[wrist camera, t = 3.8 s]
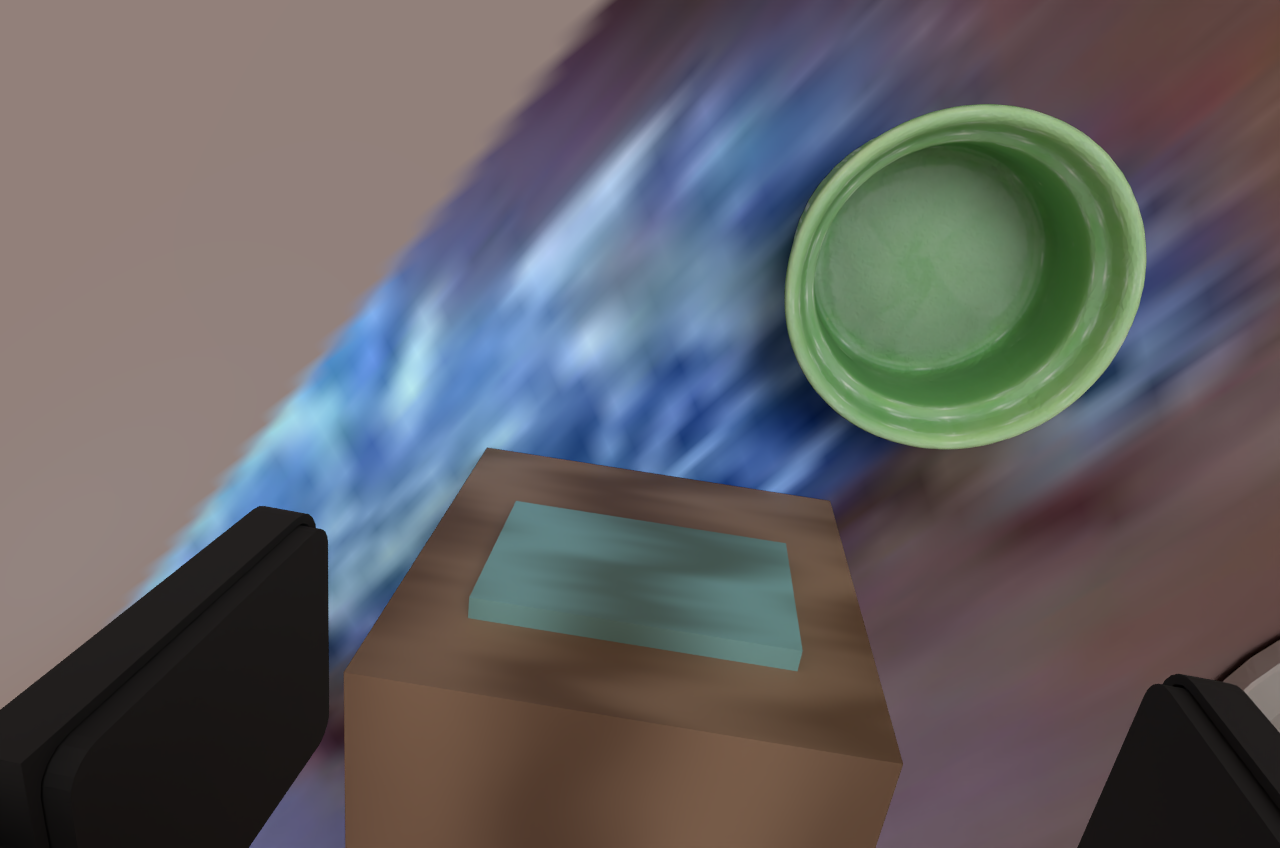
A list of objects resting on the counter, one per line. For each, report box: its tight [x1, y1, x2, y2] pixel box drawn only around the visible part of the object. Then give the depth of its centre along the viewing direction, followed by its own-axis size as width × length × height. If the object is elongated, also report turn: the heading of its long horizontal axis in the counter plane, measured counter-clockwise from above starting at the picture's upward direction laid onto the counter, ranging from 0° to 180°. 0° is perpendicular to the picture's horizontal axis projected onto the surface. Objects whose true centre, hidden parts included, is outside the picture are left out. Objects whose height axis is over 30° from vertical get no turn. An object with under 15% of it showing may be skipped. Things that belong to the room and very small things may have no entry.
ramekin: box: [785, 104, 1146, 449], centre depth 23 cm, size 9×9×4 cm
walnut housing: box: [344, 448, 903, 848], centre depth 24 cm, size 12×8×12 cm, turn 82°
